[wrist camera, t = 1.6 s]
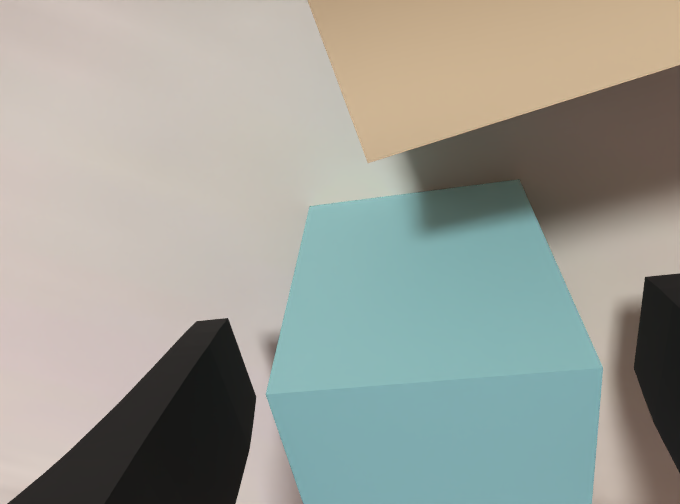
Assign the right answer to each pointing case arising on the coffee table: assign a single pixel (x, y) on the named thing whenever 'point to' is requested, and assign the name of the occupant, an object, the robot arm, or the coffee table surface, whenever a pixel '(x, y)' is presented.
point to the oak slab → (482, 59)
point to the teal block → (434, 356)
